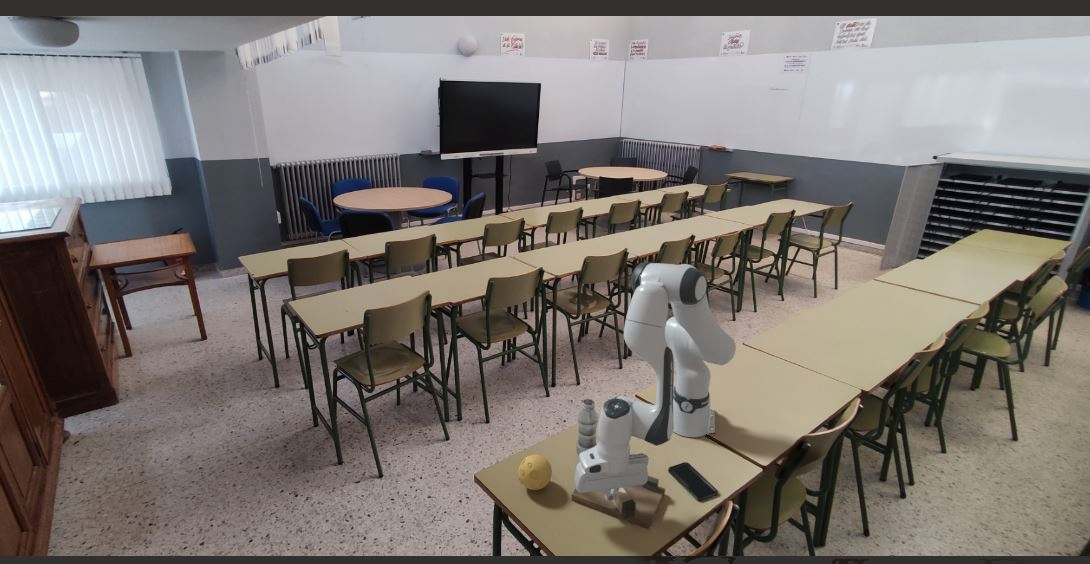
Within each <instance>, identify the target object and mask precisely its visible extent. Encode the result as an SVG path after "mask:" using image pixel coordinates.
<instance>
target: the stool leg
mask: <svg viewBox="0 0 1090 564" xmlns="http://www.w3.org/2000/svg"><path fill="white" fill-rule="evenodd" d="M609 491H611V489H609ZM611 501H612V502H613V503H614V505H615V506H616V507H617V509H618V510H619V511H620V513H621V514H622V516H623V518H624V519H626V518H629V517H632V516H635V507H636V503H635V502H634V500H633V499H631V497H630V496H629V495H628V494H627V492H626V491H625V490H624V489H623V488H619V491H618V492H617V494H616V495H615V499H614V500H611Z"/></svg>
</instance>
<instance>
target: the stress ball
mask: <svg viewBox="0 0 1090 564" xmlns="http://www.w3.org/2000/svg"><path fill="white" fill-rule="evenodd" d="M550 463H551V462H549V460H548V459H547V458H546V457H545V456H543V455H541V454H535V453H534V454H529V455H528V456H526V457H523V458H522V460H521V461H520V463H519V467H518V472H517V473H518V480H519V482H520V484H521V485H523V486H524V487H525V488H527V489H528V490H530V491H531V490H532V491H539V490H541V489H543V488H546V486H548V484H549V483H550V481H551V479H552V476H553V474H552V473H553V471H552V466H551V464H550Z"/></svg>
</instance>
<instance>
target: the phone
mask: <svg viewBox="0 0 1090 564" xmlns="http://www.w3.org/2000/svg"><path fill="white" fill-rule="evenodd" d="M667 472H668V473H669V474H670V475H671V476H672V477H673V478H674V479H675V480H676V481H677V482H678V483H679V484H680V485H681V486H682V488H684V490H686V491H687V493H689V495H691V496H692V498H693V499H694V500H696V501H697V502H703V501H707V500H709V499H712V498H715V497H717V496H718V495H719V490H718V489H717V488H716V487H714V486H713V484H712V483H711V482H710V481H708V480H707V478H705V477H704V476H703V475H702V474H701V473H700V472H699V471H698V470H697V469H696V468H695V467H693V465H691V464H690V463H689V462H686V461H684V462H681V463H679V464H675V465H672V466H669V467H668V470H667Z"/></svg>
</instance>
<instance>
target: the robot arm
mask: <svg viewBox="0 0 1090 564" xmlns="http://www.w3.org/2000/svg"><path fill="white" fill-rule="evenodd" d="M630 283H631V288H632V291H633V295H632V297H631V300H630V302H629V306H628V309H627V313H626V318H625V321H624V325H623V326H624V327H623V339H624V341H625V344H626V345H627V348H628V349H629V350H630V351H631V352H632V353H634V354H635V355H636V356H638V358H640V359H642V360H643V361H644V362H646V363H647V364H648V365H650V367H651V368H652V369H653V370H654V372H655V375H656V394H655V395H656V396H655V397H656V400H655V404H652V403H648V402H644V401H641V400H638V399H635V398H631V397H629V396H624V395H617V396H615V397H613V398H610V399H608V400H606V401H605V402H604V403H603V405H602V407H601V409H600V414H599V416H598V423H597V436H598V441H597V442H596V446H595V447H593V448H591V449H589V450H586V451H584V452H581V453H580V454H579V455H578V459H579V462H578V463H577V464H576V467H575V471H574V476H573V477H574V479H573V482H574V483H573V484H574V487H575V488H576V490H577V491H578V492H579V493H586V492H593V491H601V490H603V492H604V493H605V499H606V501H609V500H614V499H615V495H616V494H617V492H618V491H619V488H623V487H630V486H637V485H644V484H645V483H646V482H647V480H648V476H649V475H648V465H649V456H648V455H647V454H645V453H643V452H641V453H636V454H635V453H632V454H630V453H631V445H630V441H631V439H632V437H634V438H637V439H639V440H640V439H641V440H643V441H645V442H647V443H648V444H651V445H652V446H653V445H654V446H655V447H656V446H661V445H664V444H666V443H668V442H669V441H670V440H671V439H672V438H671V437H672V435H673V433H675V434H677V435H679V436H683V437H686V438H687V437H688V438H700V437H703V436H707V435H709V434H708V433H714V432H715V433H716V411H715V410H716V409H715V410H712V409H714V407H712V408H711V409H710V407H711V399H710V397H711V396H710V383H711V370H710V368H709V367H708V365H707V364H706V363H710V364H713V365H718V366H725V365H727V364H728V363H730V362H731V361H732V360H733V358H734V357H735V355H736V351H737V348H736V342H735V339H734V338H732V336H730V335H729V334H728V333H727V332H726V331H725V330H724V329H723V327H722V326H721V325H720V323H719V322H718V321H717V319H716V318H715V317H714V315H713V312H712V311H711V309H710V305H709V301H708V295H707V287H708V286H707V285H708V284H707V283H708V280H707V278H706V275H705V274H704V273H703V272H702V270H699V269H697V268H696V267H695V266H693V265H692V264H688V263H681V264H675V263H662V262H657V263H655V262H651V261H645V262H640V263H639V264H638V265H636V267H635V268H634V269H633V271H632V274H631V278H630ZM669 303H670V305H671V309H672V313H673V316H672V317H670V318H669V319H668V314H669V313H668V312H669ZM674 360H675V361H674ZM674 362H675V366H674ZM675 368H676V375H674V369H675ZM674 376H676V377H674ZM674 379H675V386H674ZM714 411H715V412H714ZM711 415H713V416H711ZM711 428H713V429H711ZM706 434H707V435H706ZM575 488H574V489H575ZM609 489H611V491H609Z"/></svg>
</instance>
